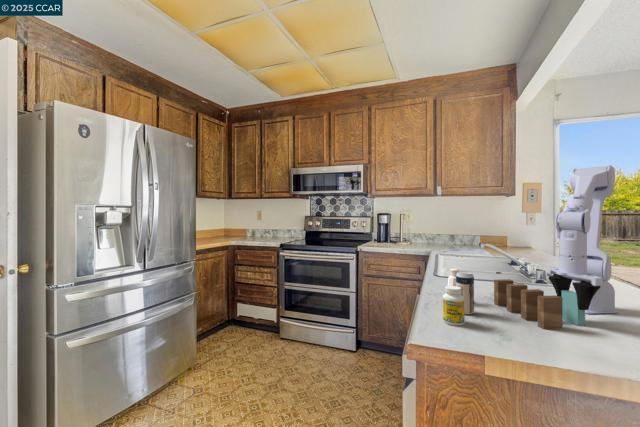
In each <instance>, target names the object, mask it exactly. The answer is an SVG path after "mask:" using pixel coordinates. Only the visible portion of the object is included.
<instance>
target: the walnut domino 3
mask: <svg viewBox="0 0 640 427" xmlns="http://www.w3.org/2000/svg"><path fill="white" fill-rule="evenodd" d="M544 293H545V291H544V290H541V289H540V288H536V289H533V288H532V289H530V288H529V289H528V290H521V313H520V318H521V319H523V320H525V321H538V296H545V294H544Z"/></svg>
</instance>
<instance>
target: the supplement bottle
mask: <svg viewBox="0 0 640 427" xmlns="http://www.w3.org/2000/svg"><path fill="white" fill-rule="evenodd" d="M444 291H445V293H444V294H443V295H442V320H443V322H444V323H445V324H447V325H451V326H455V327H457V326H458V327H459V326H464V325H465V321H466V320H465V315H464V297H463V296H462V295H460V294H461V288H460V287H457V286H448V285H446V286H445V287H444Z"/></svg>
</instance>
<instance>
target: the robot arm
mask: <svg viewBox="0 0 640 427" xmlns="http://www.w3.org/2000/svg"><path fill="white" fill-rule="evenodd" d="M615 182H616V171H615V167H614V166H612V165H607V166H606V165H605V166H596V167H583V168H573V169H572V170H571V171H570V172H569V185H570V186H571V189H572V193H573V194H571V195H570V196H568V197H567V199H566V202H565V204H564V207H563V209H562V211H561V212H560V213H557V214H556V216H555V229H556V237H557V239H559V240H558V242H559V244H558V251H559V252H558V255H559V256H558V258H559V259H558V260H559V261H558V262H559V263H558V267H557V266H547V274H549V275H550V276H548V280H549V281H550V283H551V285H552V287H553V289H554V291H555V293H556V296H559V297H561V290H569V291H570V287H571V291H573V292H576V295H577V305H578V309H579V310H585V314H587V315H590V314H594V315H596V314H599V315H600V314H618V313H619V312H618V310H616V306H615V305H616V304H615V303H616V302H615V301H616V298H615V297H616V291H615V287H614V286H613V285H612V284H611V283H610V280H611V279H612V278H611V277H612V259H611V256H610V255H609V254H608V253H607V252H605V251H603V250H602V249H600V242H601V230H602V219H603V207H604V203H605V201H606V198H608V197H611V196H612V195H613V193H614V192H615V184H616V183H615Z"/></svg>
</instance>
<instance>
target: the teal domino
mask: <svg viewBox="0 0 640 427" xmlns="http://www.w3.org/2000/svg"><path fill="white" fill-rule="evenodd" d="M561 297H562V298H563V321H566V322H568V323H571V324H573V325H575V326H576V327H580V326H582V327H583V326H586V313H585V310H579V309H578V305H577V295H576V292H573V291H572V290H570V289H569V290H561Z"/></svg>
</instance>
